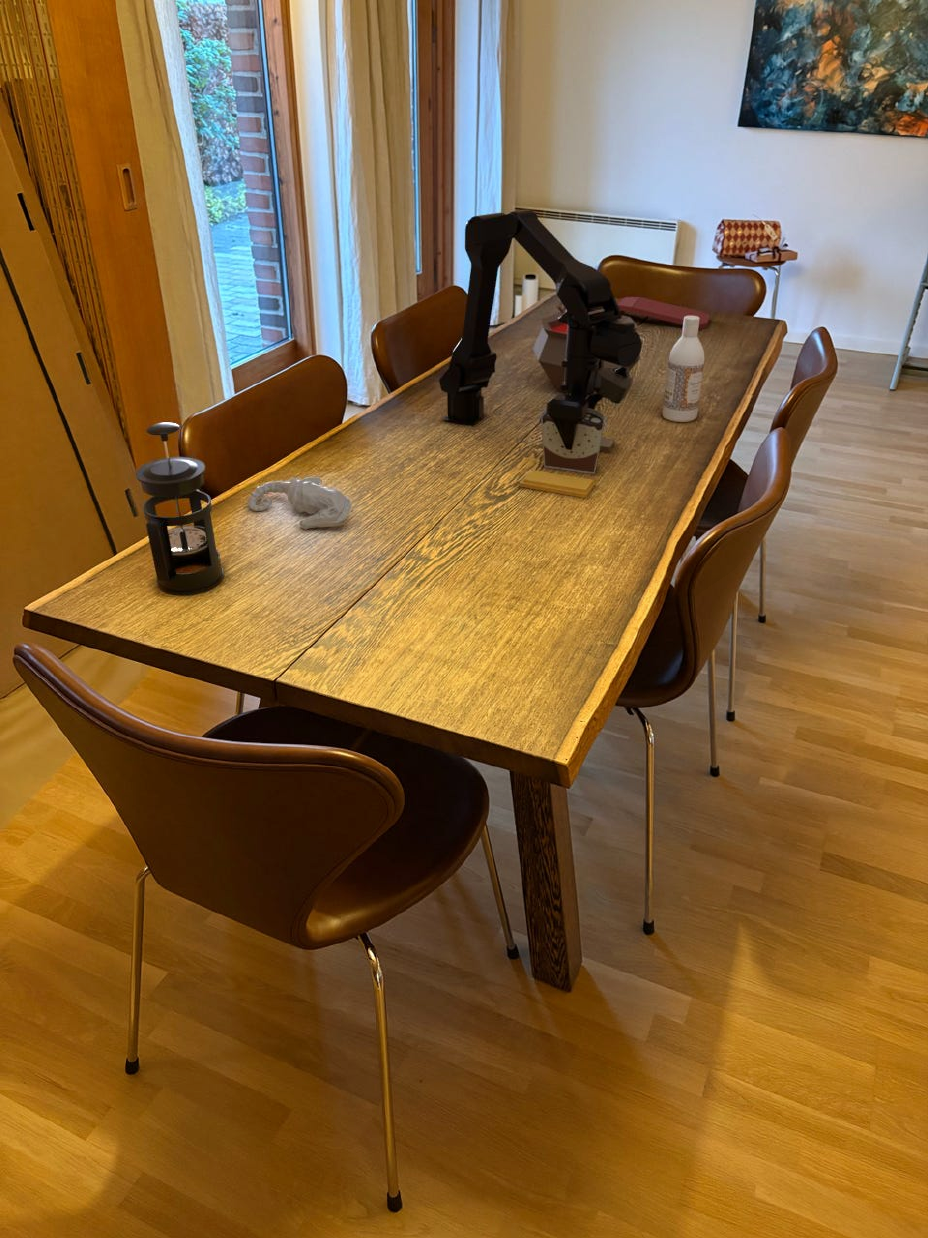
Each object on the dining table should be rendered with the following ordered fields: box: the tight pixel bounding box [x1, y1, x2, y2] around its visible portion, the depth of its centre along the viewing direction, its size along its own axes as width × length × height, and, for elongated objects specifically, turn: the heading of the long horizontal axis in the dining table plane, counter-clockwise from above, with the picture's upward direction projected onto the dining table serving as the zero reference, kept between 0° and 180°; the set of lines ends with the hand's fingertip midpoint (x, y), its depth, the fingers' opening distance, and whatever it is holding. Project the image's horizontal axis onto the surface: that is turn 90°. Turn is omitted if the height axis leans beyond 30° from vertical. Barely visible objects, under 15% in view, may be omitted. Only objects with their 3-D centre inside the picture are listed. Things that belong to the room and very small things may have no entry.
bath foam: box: [661, 316, 705, 423], centre depth 182 cm, size 7×7×20 cm
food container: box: [537, 408, 608, 475], centre depth 164 cm, size 12×6×10 cm, turn 70°
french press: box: [135, 422, 225, 596], centre depth 125 cm, size 12×9×23 cm
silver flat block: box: [599, 437, 616, 453], centre depth 174 cm, size 8×4×1 cm, turn 66°
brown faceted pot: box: [532, 301, 642, 394], centre depth 200 cm, size 24×24×16 cm
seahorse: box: [247, 476, 353, 531], centre depth 148 cm, size 5×12×20 cm
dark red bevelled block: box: [616, 296, 711, 330], centre depth 250 cm, size 12×5×25 cm
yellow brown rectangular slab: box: [518, 469, 595, 499], centre depth 158 cm, size 12×5×1 cm, turn 67°
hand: (576, 440), depth 164 cm, fingers open, 9 cm apart
